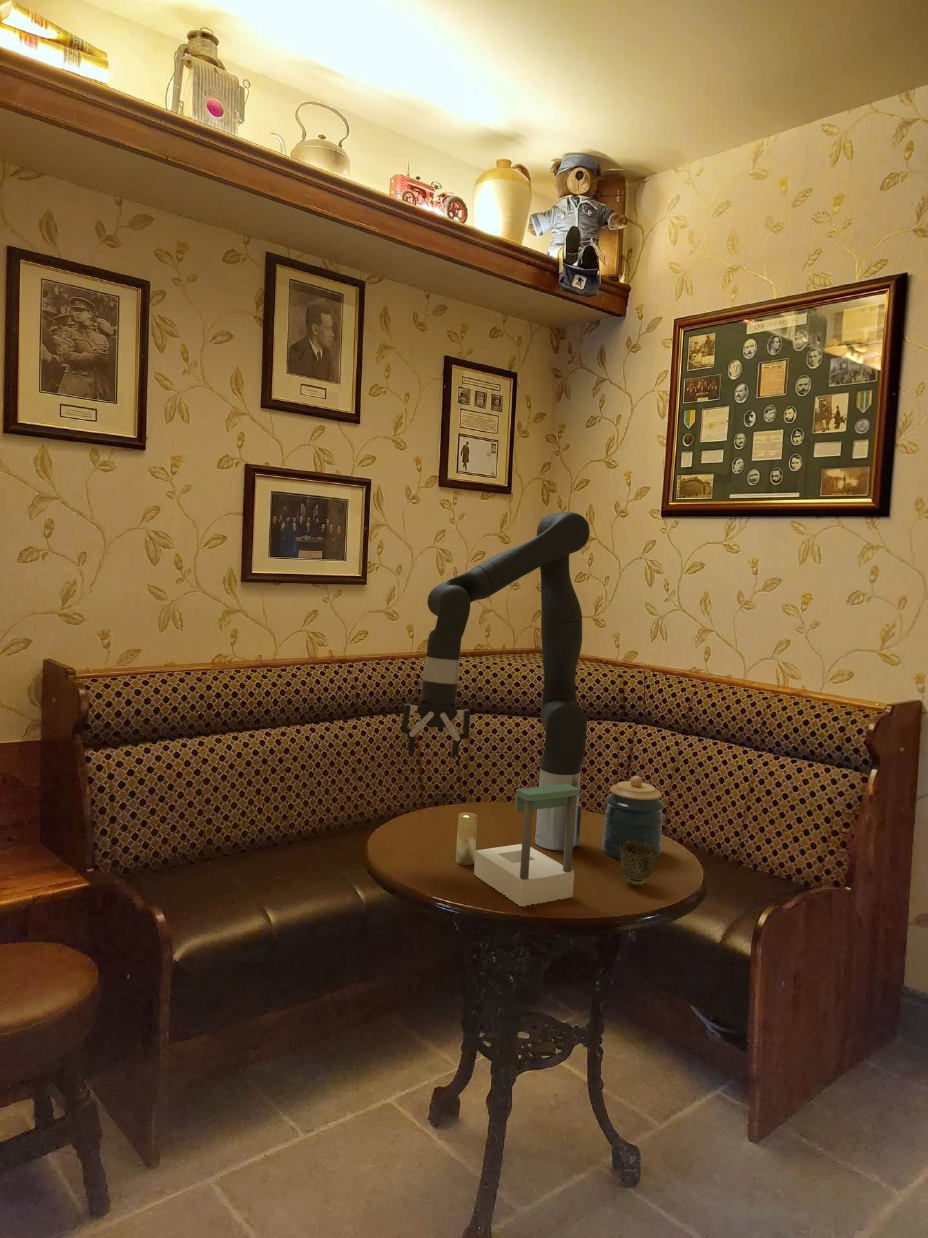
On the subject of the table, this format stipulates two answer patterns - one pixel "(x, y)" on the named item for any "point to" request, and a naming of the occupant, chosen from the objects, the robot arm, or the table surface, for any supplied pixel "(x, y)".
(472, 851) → the brass peg
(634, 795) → the canister
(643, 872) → the cup
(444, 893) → the table surface
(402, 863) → the table surface
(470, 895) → the table surface
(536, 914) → the table surface
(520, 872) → the socket stand
